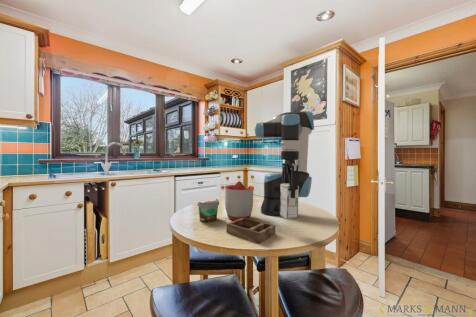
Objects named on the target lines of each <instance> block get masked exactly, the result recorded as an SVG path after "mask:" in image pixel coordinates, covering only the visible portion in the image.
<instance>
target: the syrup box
mask: <svg viewBox="0 0 476 317" xmlns="http://www.w3.org/2000/svg"><path fill="white" fill-rule="evenodd" d="M288 189H290V187H289V183H285V184H281V187H280V215H281V217H282V218H284V219H286V220H288V219H296V218H297V219H298V217H299V197H298V192H299V186H298V190H296V196H295V206H289V190H288Z"/></svg>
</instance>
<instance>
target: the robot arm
mask: <svg viewBox="0 0 476 317" xmlns="http://www.w3.org/2000/svg"><path fill="white" fill-rule="evenodd" d="M313 113H314V112H312V111H309V110H307V111H306V110H304V111H291V112H290V111H288V112H283V113H280V114H278V115H276V116H274V117H273V118H272V119H270V120H268V121H266V122H263V121H261V122H256V124H255V126H254V134H255V137H256V138H260V139H265V138H266V139H269V138H270V139H272V138H273V139H274V138H276V139H277V138H280V139H281V142H279V144H280V148H281V151H280V159H281V160H283V161H284V162H283V163H281V169H282V170H281V172H275V173H274V172H273V173H268V174H265V175H264V178H263V179H264V180H263V181H264V182H263V201H262V203H261V205H260V213H261V214H263V215H265V216H274V217H276V216H277V217H279V216H281V215H280V187H281V184H285V183H289V187H290V189H288V190H289V206H295V196H296V190H298V186H299V192H298V198H307V197H309V196H310V193H311V188H312V181H313V178H312V176H310V173H309V172H308V156H309V154H308V153H309V138H310V137H309V136H310V135H311V134H312V131H313V130H315V123H314V114H313ZM281 217H282V216H281Z"/></svg>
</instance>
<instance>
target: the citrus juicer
mask: <svg viewBox="0 0 476 317" xmlns="http://www.w3.org/2000/svg"><path fill="white" fill-rule="evenodd" d="M224 189H225V190H224V195H225V196H224V202H225V203H224V204H225V205H224V206H225V211H226V215H227V218H228V219H229V220H231V221H235V220H238V219H240V218H243V217H244V218H248V219H251V215H252V212H253V208H254V186H253V185H249V186H247V188H246V187H245V185H244V184H243V182H241V181H239V180H238V181H237V182H236V183H235V184H229V185H228V184H227V185H226V186H224Z"/></svg>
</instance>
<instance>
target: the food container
mask: <svg viewBox="0 0 476 317" xmlns="http://www.w3.org/2000/svg"><path fill="white" fill-rule="evenodd" d="M219 206H220V201H219V199H218V198H216V199H215V200H211V201H210V200H209V201H205V202H201V201H200V202H199V201H198V203H197V207H198V215H199V222H203V223H212V222H215V221H217V220H218V209H219Z"/></svg>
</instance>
